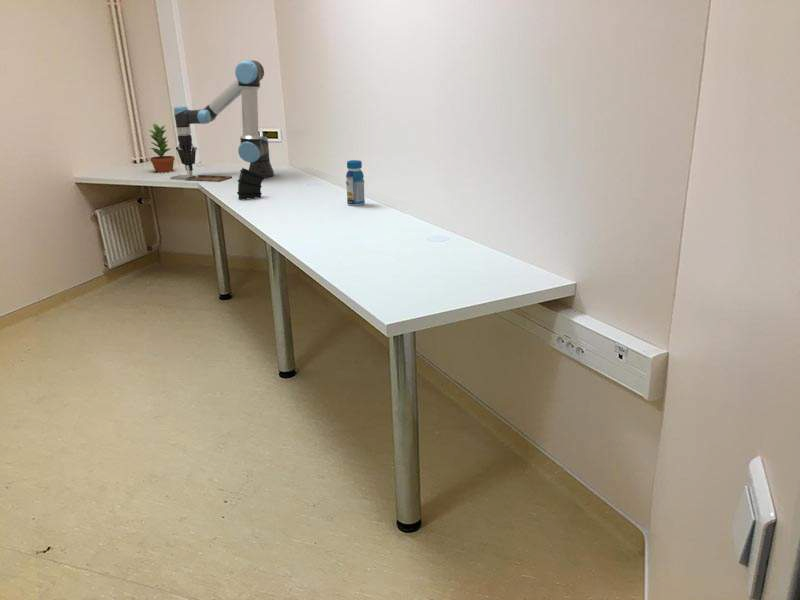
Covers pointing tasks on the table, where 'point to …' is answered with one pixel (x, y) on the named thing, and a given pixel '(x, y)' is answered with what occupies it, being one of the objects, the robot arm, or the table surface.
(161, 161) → the potted plant
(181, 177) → the cover plate
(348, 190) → the beverage bottle
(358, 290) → the table surface
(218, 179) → the brown wooden tray
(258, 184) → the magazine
